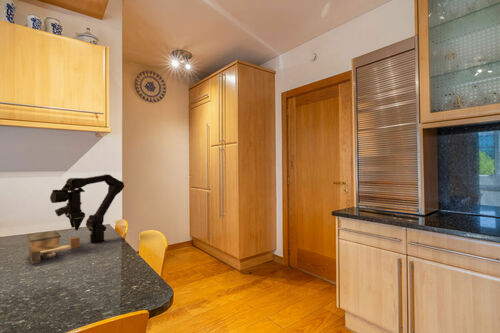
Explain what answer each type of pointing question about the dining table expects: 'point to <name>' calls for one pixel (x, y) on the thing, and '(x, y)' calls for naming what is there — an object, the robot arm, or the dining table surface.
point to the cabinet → (42, 244)
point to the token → (49, 254)
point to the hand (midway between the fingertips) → (74, 229)
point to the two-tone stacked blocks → (73, 243)
